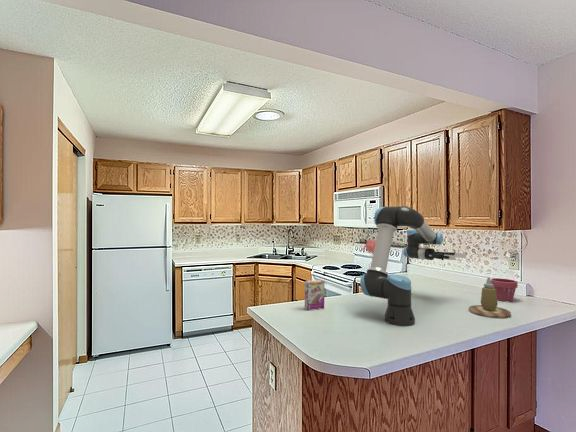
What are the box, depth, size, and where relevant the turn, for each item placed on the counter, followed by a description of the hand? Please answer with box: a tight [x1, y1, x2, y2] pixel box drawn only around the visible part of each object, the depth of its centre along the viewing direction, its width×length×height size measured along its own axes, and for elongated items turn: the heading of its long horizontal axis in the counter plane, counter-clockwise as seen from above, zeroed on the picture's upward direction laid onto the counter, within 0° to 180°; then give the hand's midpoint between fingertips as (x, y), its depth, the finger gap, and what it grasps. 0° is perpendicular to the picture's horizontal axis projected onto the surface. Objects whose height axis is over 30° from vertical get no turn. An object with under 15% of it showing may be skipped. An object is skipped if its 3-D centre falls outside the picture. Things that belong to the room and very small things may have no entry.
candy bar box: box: [304, 279, 325, 311], centre depth 188 cm, size 11×5×16 cm, turn 110°
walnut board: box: [468, 304, 512, 319], centre depth 178 cm, size 20×20×2 cm
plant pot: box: [490, 277, 519, 302], centre depth 204 cm, size 14×14×13 cm
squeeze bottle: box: [480, 277, 499, 311], centre depth 178 cm, size 8×8×18 cm
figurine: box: [360, 238, 376, 265], centre depth 274 cm, size 15×26×35 cm, turn 41°
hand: (460, 256), depth 190 cm, fingers open, 13 cm apart
